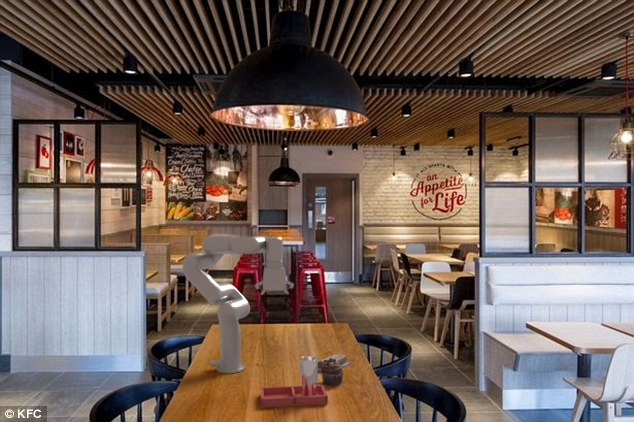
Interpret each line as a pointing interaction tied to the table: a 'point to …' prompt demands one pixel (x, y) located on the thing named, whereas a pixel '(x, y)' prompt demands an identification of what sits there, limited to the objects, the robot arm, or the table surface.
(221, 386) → the table surface
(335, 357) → the packaged product
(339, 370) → the cupcake
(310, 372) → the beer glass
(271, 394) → the tray
